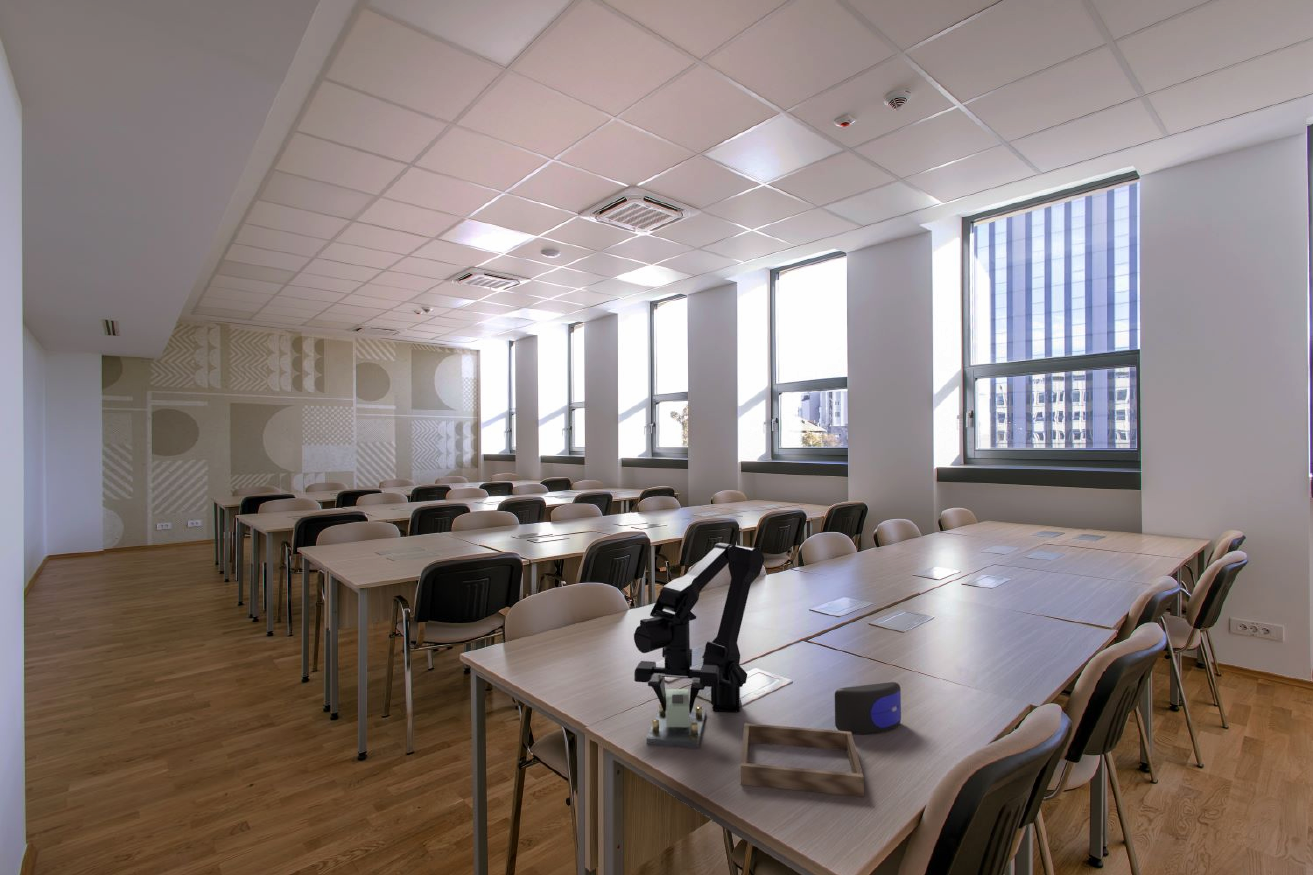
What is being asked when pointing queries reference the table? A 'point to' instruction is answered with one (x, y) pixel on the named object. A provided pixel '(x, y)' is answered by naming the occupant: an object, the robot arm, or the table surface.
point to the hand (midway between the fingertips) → (677, 711)
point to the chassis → (677, 730)
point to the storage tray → (800, 776)
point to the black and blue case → (868, 708)
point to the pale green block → (677, 708)
